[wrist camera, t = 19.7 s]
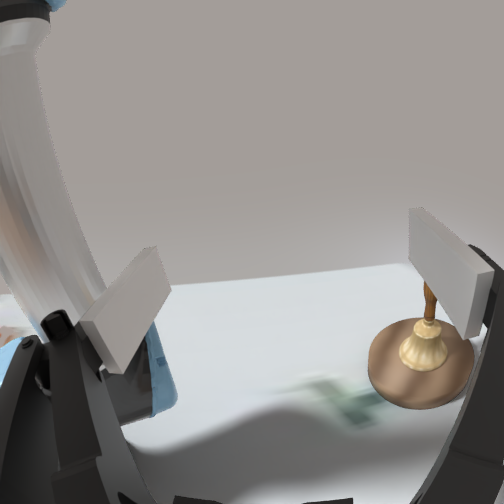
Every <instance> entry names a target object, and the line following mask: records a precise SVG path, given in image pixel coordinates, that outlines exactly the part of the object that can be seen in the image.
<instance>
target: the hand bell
mask: <svg viewBox="0 0 504 504" xmlns="http://www.w3.org/2000/svg"><path fill="white" fill-rule="evenodd" d="M424 296H425V301H426V307H425V312H424V319H421V320H419V321H418V322H416V324H415V325H414V329H413V332H412V334H411V336H410V337H408V338H407V339H405V340H404V341H403V342H402V344H401V345H400V348H399V357H400V360H401V361H402V363H403V364H404V365H405V366H406V367H408V368H410V369H412V370H415V371H420V372H427V371H432V370H435V369H437V368H439V367H440V366H441V365H442V364H443V363H444V362H445V361H446V358H447V354H448V352H447V347H446V345H445V343H444V342H443V341H442V340H441V330H442V329H441V325H440V323H439V322H438V321H436V320H435V308H436V302H437V298H436V297H435V295H434V294H433V292H432V291H431V289H430V288H429V287H428V285H427V284H426V282H425V281H424Z"/></svg>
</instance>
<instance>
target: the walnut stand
mask: <svg viewBox="0 0 504 504" xmlns="http://www.w3.org/2000/svg"><path fill="white" fill-rule="evenodd" d="M421 319H424V318H411V319H405V320H401V321H398V322H396V323H393V324H391V325H389V326H388V327H386V328H385V329H383V330H382V331H381V332H380V333H379V334H378V335H377V336H376V337H375V338H374V340H373V342H372V344H371V346H370V350H369V359H368V375H369V379H370V382H371V384H372V386H373V387H374V389H375V390H376V391H377V392H378V393H379V394H380V395H381V396H382V397H383V398H384V399H386V400H387V401H389V402H391V403H393V404H395V405H397V406H400V407H404V408H408V409H418V410H422V409H431V408H435V407H438V406H441V405H444V404H446V403H448V402H449V401H451V400H452V399H454V398H455V397H456V396H457V395H458V394H459V393H460V392H461V391H462V390H463V388H464V387H465V385H466V383H467V380H468V378H469V375H470V373H471V370H472V368H473V364H474V351H473V348H472V345H471V343H470V341H469V340H468V339H465V340H463V339H462V338H461V336H460V334H459V333H458V331H457V329H456V328H455V326H453V325H451V324H449V323H447V322H444V321H441V320H437V319H435V320H436V321H438V322H439V323H440V325H441V329H442V330H441V340H442V341H443V342H444V343H445V345H446V347H447V352H448V354H447V358H446V361H445V362H444V363H443V364H442V365H441V366H440V367H439V368H437V369H435V370H432V371H427V372H420V371H415V370H412V369H410V368H408V367H406V366H405V365H404V364H403V363H402V361H401V360H400V357H399V348H400V345H401V344H402V342H403V341H404V340H405V339H407V338H408V337H410V336H411V334H412V332H413V329H414V325H415V324H416V322H418V321H419V320H421Z"/></svg>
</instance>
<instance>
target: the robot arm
mask: <svg viewBox="0 0 504 504" xmlns="http://www.w3.org/2000/svg"><path fill="white" fill-rule="evenodd" d="M65 3H66V0H0V273H1V275H2V277H3V279H4V280H5V282H6V284H7V286H8V287H9V289H10V291H11V292H12V294H13V296H14V298H15V299H16V301H17V303H18V304H19V306H20V307H21V309H22V310H23V312H24V314H25V315H26V317H27V318H28V320H29V321H30V323H31V324H32V326H33V327H34V329H35V330H36V331H37V333H38V334H39V336H40V337H41V338H42V341H40V339H39V337H38V336H37V335H31V336H29V337H28V336H27V337H19V338H16V339H14V340H12V341H10V342H9V343H7V344H6V345H4V346H3V347H2V348H0V504H157V503H156V502H155V501H154V499H153V498H152V497H151V495H150V493H149V491H148V489H147V487H146V485H145V483H144V481H143V479H142V477H141V475H140V473H139V470H138V468H137V466H136V464H135V462H134V459H133V457H132V455H131V452H130V450H129V448H128V445H127V443H126V440H125V438H124V435H123V433H122V430H121V427H120V426H123V425H126V424H130V423H133V422H136V421H140V420H143V419H146V418H152V417H154V416H155V415H156V414H158V413H160V412H162V411H165V410H167V409H170V408H171V407H173V406H174V405H175V404H176V402H177V398H178V394H177V390H176V387H175V384H174V381H173V378H172V375H171V372H170V369H169V366H168V364H167V361H166V358H165V355H164V352H163V348H162V345H161V342H160V338H159V335H158V332H157V329H156V326H155V323H154V319H155V317H156V316H157V314H158V312H159V310H160V309H161V307H162V305H163V304H164V302H165V300H166V299H167V297H168V295H169V294H170V292H171V287H170V285H169V282H168V279H167V276H166V274H165V271H164V268H163V265H162V262H161V259H160V256H159V253H158V250H157V248H156V246H155V247H149V248H144V249H143V250H142V251H141V252H140V253H139V254H138V255H137V256H136V257H135V258H134V260H133V261H132V262H131V263H130V264H129V265H128V266H127V267H126V268H125V269H124V270H123V271H122V272H121V274H120V275H119V276H118V277H117V278H116V279H115V280H114V281H113V282H112V283H111V285H110V286H109V287H108V288H107V287H106V285H105V283H104V281H103V279H102V277H101V274H100V272H99V270H98V268H97V266H96V263H95V261H94V259H93V256H92V254H91V252H90V249H89V247H88V245H87V242H86V240H85V237H84V236H83V232H82V230H81V227H80V225H79V222H78V219H77V217H76V214H75V211H74V209H73V206H72V203H71V200H70V197H69V194H68V191H67V188H66V185H65V182H64V179H63V176H62V173H61V170H60V166H59V163H58V160H57V156H56V153H55V149H54V146H53V142H52V138H51V134H50V130H49V126H48V122H47V118H46V113H45V109H44V104H43V99H42V94H41V88H40V83H39V78H38V71H37V64H36V58H35V55H36V53H37V50H38V49H39V47H40V46H41V45H42V43H43V42H44V40H45V39H46V38H47V36H48V35H49V33H50V18H49V12H50V11H51V12H55V11H57V10H58V9H59V8H60V7H62V6H63V5H65ZM409 260H410V261H411V263H412V264H413V265H414V267H415V268H416V270H417V271H418V272H419V274H420V275H421V277H422V278H423V279H424V281H425V282H426V284H427V285H428V287H429V288H430V289H431V291H432V292H433V294H434V295H435V297H436V298H437V300H438V301H439V303H440V304H441V306H442V307H443V309H444V310H445V312H446V314H447V315H448V317H449V318H450V320H451V321H452V323H453V325H454V326H455V328H456V329H457V331H458V333H459V334H460V336H461V338H462V339H463V340H465V339H469V338H472V337H476V336H479V334H480V331H481V327H482V324H483V323H484V324H485V326H486V327H487V333H486V336H485V339H484V342H483V345H482V348H481V351H480V352H481V354H480V357H479V360H478V363H477V367H476V370H475V373H474V376H473V378H472V381H471V384H470V387H469V390H468V392H467V395H466V397H465V400H464V402H463V405H462V407H461V410H460V412H459V415H458V417H457V419H456V421H455V424H454V426H453V428H452V430H451V432H450V435H449V437H448V439H447V441H446V443H445V445H444V447H443V449H442V451H441V453H440V454H439V456H438V458H437V460H436V462H435V464H434V466H433V467H432V469H431V471H430V473H429V474H428V476H427V478H426V479H425V481H424V483H423V484H422V486H421V488H420V489H419V491H418V492H417V494H416V495H415V497H414V498H413V499H412V501H411V502H410V503H409V504H494V502H495V499H496V497H497V495H498V492H499V490H500V488H501V485H502V483H503V480H504V465H503V460H504V270H503V269H502V268H501V267H499V266H498V265H497V264H496V263H495V262H494V261H493V260H491V258H489V256H486V254H485V253H484V252H483V251H482V250H480V249H479V248H477V247H475V246H473V245H467V244H466V243H465V242H463V241H462V240H461V239H460V238H459V237H458V236H456V235H455V234H454V233H453V232H452V231H451V230H450V229H448V228H447V227H446V226H445V225H444V224H442V223H441V222H440V221H439V220H437V219H436V218H435V217H434V216H432V215H431V214H430V213H429V212H427V211H426V210H425V209H424V208H422V207H421V208H413V209H409ZM173 504H222V503H219V502H216V501H211V500H202V499H194V498H187V497H181V496H175V498H174V501H173ZM303 504H353V498H347V499H339V500H330V501H320V502H307V503H303Z"/></svg>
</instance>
